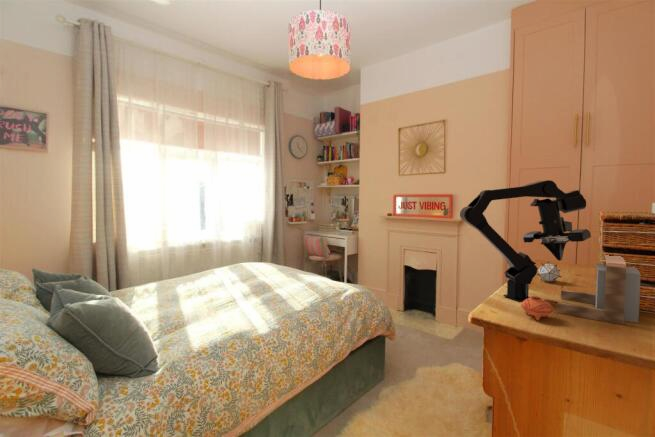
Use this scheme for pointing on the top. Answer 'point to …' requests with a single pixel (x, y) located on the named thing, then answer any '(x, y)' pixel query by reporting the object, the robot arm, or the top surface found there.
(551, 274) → the game die
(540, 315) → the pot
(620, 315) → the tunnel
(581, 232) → the robot arm
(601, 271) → the tall block
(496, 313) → the top surface
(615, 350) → the top surface
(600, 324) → the top surface
